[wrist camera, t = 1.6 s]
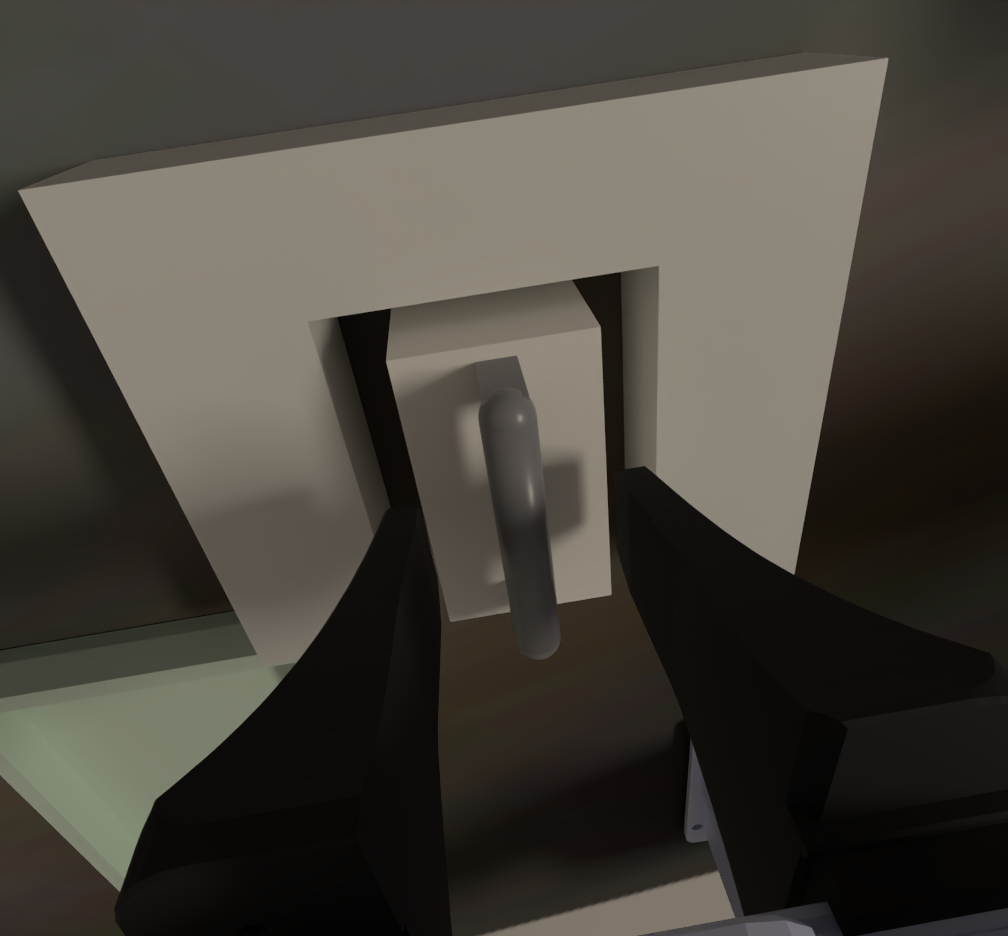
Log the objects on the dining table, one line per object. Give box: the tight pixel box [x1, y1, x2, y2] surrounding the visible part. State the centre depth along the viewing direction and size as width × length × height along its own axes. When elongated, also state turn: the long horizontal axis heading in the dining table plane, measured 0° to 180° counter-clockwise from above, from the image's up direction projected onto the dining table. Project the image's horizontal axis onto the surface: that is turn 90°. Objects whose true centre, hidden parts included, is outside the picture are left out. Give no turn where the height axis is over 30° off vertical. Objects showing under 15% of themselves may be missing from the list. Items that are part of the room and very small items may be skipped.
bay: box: [18, 53, 888, 666], centre depth 16 cm, size 12×15×3 cm
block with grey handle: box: [386, 280, 611, 660], centre depth 15 cm, size 7×4×6 cm, turn 7°
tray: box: [0, 611, 298, 892], centre depth 24 cm, size 14×11×2 cm
